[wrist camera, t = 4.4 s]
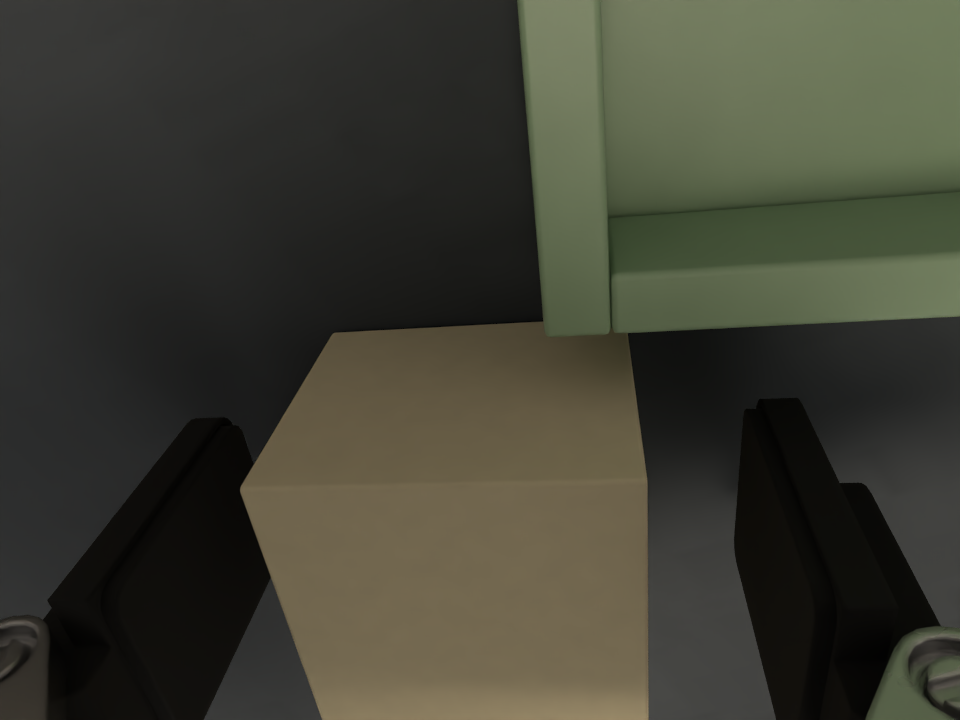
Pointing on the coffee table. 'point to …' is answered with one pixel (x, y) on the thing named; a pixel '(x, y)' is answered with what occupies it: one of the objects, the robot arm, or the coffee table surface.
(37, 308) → the coffee table surface
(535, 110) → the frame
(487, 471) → the tan rectangular block
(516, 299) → the coffee table surface
